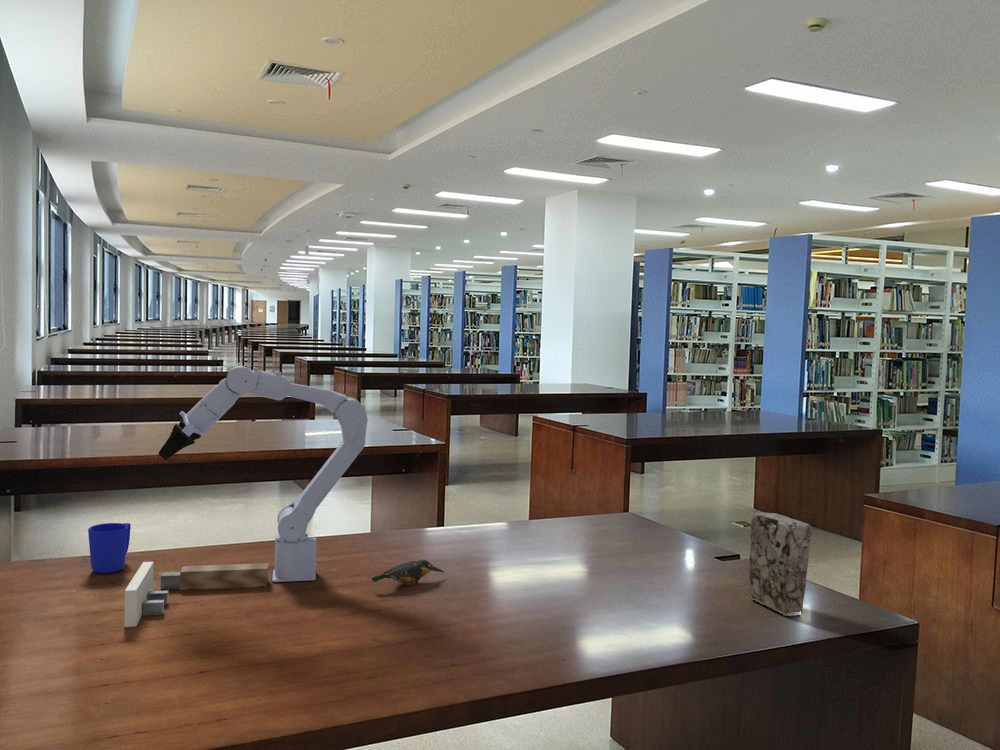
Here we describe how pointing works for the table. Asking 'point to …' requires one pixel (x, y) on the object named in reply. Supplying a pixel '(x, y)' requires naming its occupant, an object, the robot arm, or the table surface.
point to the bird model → (407, 572)
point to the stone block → (779, 561)
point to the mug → (108, 546)
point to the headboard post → (143, 596)
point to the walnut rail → (216, 577)
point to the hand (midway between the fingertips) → (164, 454)
